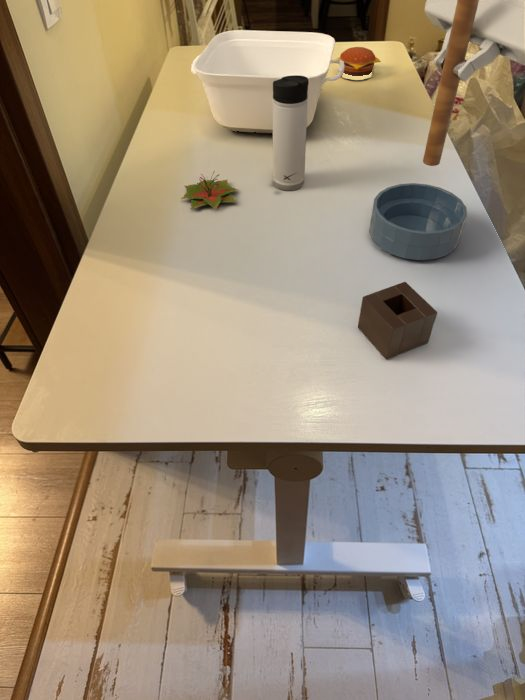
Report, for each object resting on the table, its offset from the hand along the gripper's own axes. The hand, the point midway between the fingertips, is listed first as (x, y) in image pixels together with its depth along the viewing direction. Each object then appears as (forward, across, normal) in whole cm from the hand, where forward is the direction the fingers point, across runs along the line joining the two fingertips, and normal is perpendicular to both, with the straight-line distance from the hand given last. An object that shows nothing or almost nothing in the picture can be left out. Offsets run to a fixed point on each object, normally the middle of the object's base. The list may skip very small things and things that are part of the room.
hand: (448, 72), depth 66 cm
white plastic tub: (+19, +59, -23) cm, 66 cm away
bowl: (+18, +4, -23) cm, 30 cm away
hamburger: (-4, +72, -47) cm, 86 cm away
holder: (+30, -14, -11) cm, 35 cm away
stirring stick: (+8, 0, -9) cm, 12 cm away
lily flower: (+37, +33, -4) cm, 49 cm away
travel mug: (+25, +30, -16) cm, 42 cm away
